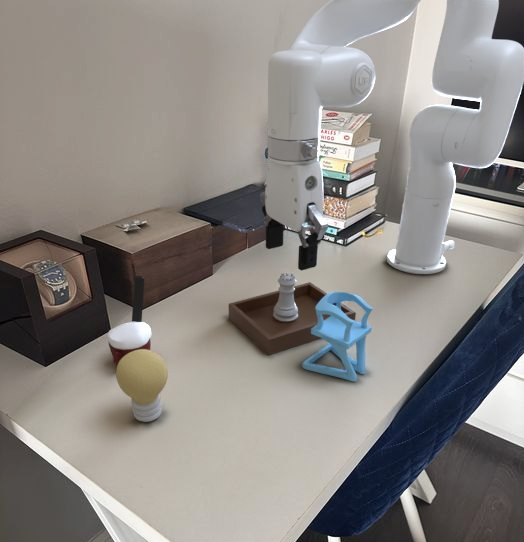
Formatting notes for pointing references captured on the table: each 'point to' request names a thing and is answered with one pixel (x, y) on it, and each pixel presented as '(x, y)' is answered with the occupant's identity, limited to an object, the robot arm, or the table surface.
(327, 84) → the robot arm
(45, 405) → the table surface
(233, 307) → the tray
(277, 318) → the rook chess piece
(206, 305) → the table surface
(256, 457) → the table surface
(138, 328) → the cocoa
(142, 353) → the light bulb
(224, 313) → the table surface
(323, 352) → the chair
